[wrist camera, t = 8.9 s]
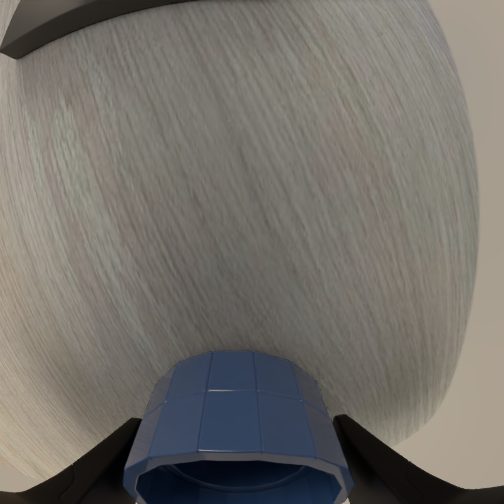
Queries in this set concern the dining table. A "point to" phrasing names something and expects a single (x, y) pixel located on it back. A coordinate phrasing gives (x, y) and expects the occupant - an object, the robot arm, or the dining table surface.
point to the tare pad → (61, 20)
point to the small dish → (237, 436)
